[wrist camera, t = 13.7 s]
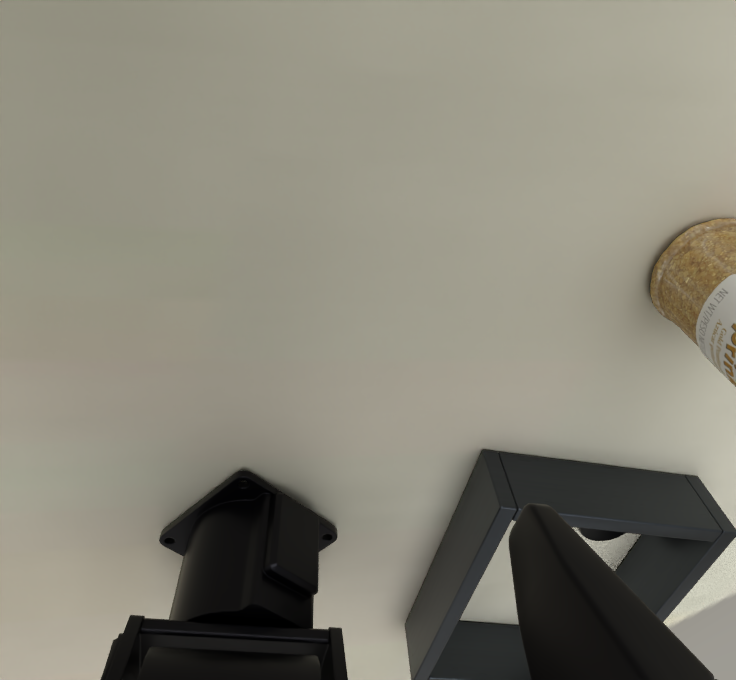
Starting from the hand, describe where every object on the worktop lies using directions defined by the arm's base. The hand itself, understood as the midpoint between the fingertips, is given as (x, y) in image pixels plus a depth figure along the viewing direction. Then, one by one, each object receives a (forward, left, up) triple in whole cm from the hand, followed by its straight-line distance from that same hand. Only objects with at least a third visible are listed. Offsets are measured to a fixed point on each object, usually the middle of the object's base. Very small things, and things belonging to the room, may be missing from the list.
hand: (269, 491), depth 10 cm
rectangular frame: (-5, -23, -13) cm, 27 cm away
